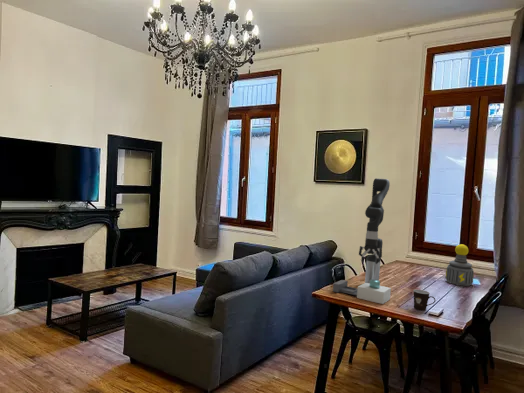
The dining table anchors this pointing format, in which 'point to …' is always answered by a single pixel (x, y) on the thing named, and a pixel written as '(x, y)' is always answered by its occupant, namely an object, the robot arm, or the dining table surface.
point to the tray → (344, 287)
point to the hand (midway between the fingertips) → (369, 263)
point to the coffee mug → (421, 299)
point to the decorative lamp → (460, 268)
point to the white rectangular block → (373, 293)
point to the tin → (374, 284)
